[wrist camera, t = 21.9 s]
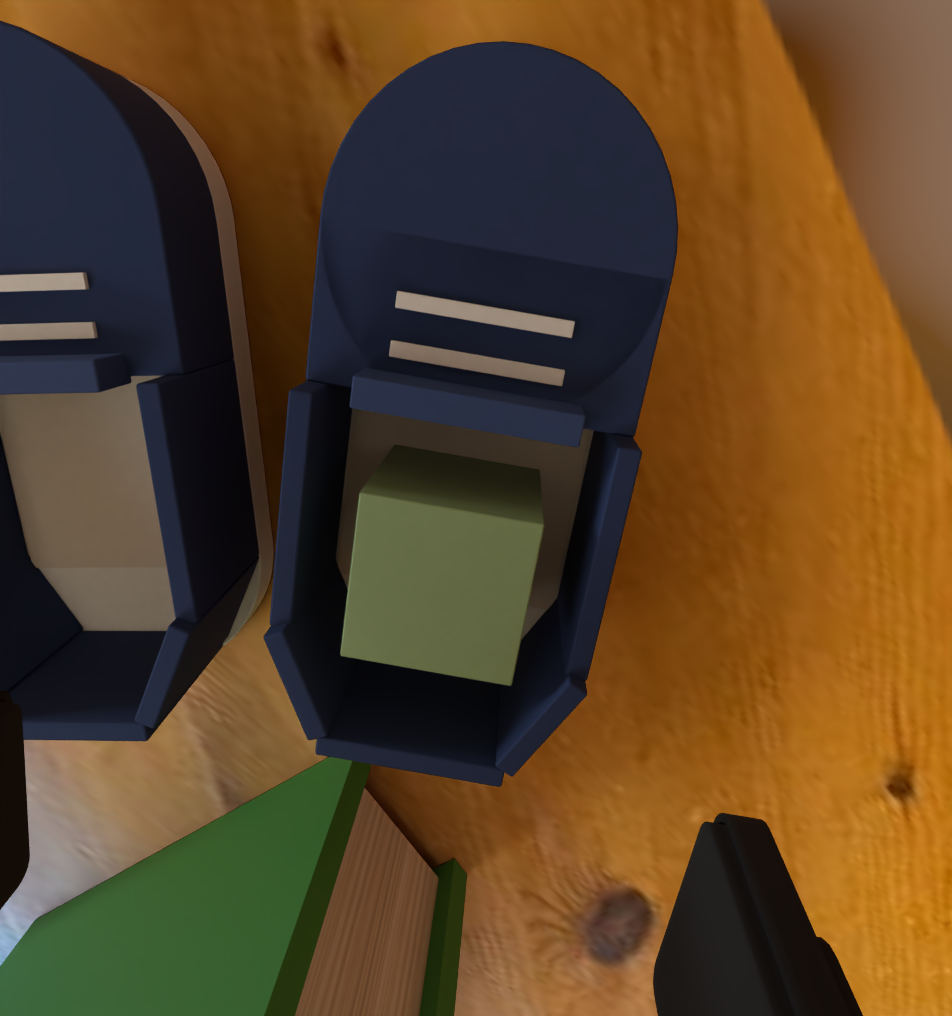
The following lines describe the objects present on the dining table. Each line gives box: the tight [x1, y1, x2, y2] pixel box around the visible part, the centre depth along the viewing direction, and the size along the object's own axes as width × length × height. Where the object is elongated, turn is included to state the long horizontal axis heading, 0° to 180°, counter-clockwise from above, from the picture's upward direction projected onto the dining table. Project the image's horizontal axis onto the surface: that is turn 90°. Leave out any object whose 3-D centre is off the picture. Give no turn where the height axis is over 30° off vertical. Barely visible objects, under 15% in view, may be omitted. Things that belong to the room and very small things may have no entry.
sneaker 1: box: [0, 21, 274, 741], centre depth 21 cm, size 19×9×7 cm, turn 1°
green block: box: [340, 445, 545, 686], centre depth 21 cm, size 5×5×5 cm
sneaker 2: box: [264, 41, 678, 787], centre depth 21 cm, size 19×9×7 cm, turn 170°
